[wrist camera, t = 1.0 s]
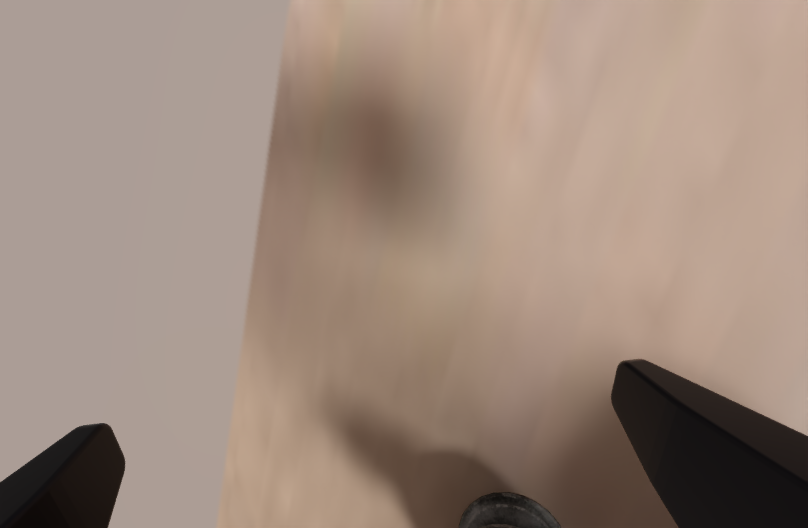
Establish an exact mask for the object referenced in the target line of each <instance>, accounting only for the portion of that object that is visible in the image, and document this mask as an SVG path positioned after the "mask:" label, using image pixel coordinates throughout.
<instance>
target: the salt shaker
mask: <svg viewBox="0 0 808 528" xmlns="http://www.w3.org/2000/svg"><path fill="white" fill-rule="evenodd" d="M459 528H561V527H560V525H559V523H558V522H557V521H556V519H555V518H554V517H553V516H552V515H551V513H550V512H549V511H547V510H546V509H545V508H543V507H542V506H541V505H539V504H538V503H537V502H535V501H533V500H531V499H528V498H526V497H524V496H521V495H517V494H512V493H492V494H489V495H485V496H482V497H480V498H479V499H477V500H476V501H474V502H473V503H471V504H470V506H469V507H468V508H467V509H466V511H465V512H464V514H463V516H462V519H461V521H460V524H459Z"/></svg>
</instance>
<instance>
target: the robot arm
mask: <svg viewBox="0 0 808 528" xmlns="http://www.w3.org/2000/svg"><path fill="white" fill-rule="evenodd" d="M611 400H612V405H613V407H614V410H615V412H616V414H617V416H618V418H619V420H620V422H621V424H622V426H623V428H624V430H625V432H626V434H627V436H628V438H629V440H630V442H631V444H632V446H633V448H634V450H635V452H636V454H637V456H638V458H639V460H640V462H641V464H642V466H643V468H644V470H645V472H646V474H647V475H648V477H649V479H650V481H651V483H652V485H653V486H654V488H655V490H656V491H657V493H658V495H659V496H660V498H661V500H662V501H663V503H664V505H665V506H666V508H667V509H668V511H669V513H670V514H671V516H672V517H673V519H674V521H675V522H676V524H677V525H678V527H679V528H808V436H806V435H804V434H802V433H800V432H798V431H796V430H794V429H791V428H789V427H787V426H785V425H783V424H781V423H779V422H776V421H774V420H772V419H770V418H768V417H766V416H764V415H762V414H759V413H757V412H755V411H753V410H751V409H749V408H747V407H744V406H742V405H740V404H738V403H736V402H734V401H732V400H730V399H727V398H725V397H723V396H721V395H719V394H717V393H715V392H713V391H710V390H708V389H706V388H704V387H702V386H700V385H698V384H695V383H693V382H691V381H689V380H687V379H685V378H683V377H681V376H678V375H676V374H674V373H672V372H670V371H668V370H666V369H663V368H661V367H659V366H657V365H655V364H653V363H651V362H649V361H646V360H644V359H634V360H626V361H622V362H620V364H619V365H618V367H617V371H616V375H615V380H614V384H613V389H612V393H611ZM124 471H125V459H124V455H123V453H122V451H121V448H120V446H119V444H118V442H117V439H116V437H115V435H114V433H113V430H112V428H111V427H110V426H109V425H108V424H105V423H99V424H91V425H83V426H79V427H77V428H75V429H74V430H72V431H71V432H70V433H68V434H67V435H65V436H64V437H63V438H61V439H60V440H59V441H57V442H56V443H54V444H53V445H52V446H50V447H49V448H47V449H46V450H45V451H43V452H42V453H41V454H39V455H38V456H36V457H35V458H33V459H32V460H31V461H29V462H28V463H27V464H25V465H24V466H23V467H21V468H20V469H18V470H17V471H16V472H14V473H13V474H11V475H10V476H8V477H7V478H6V479H4V480H3V481H2V482H0V528H108V525H109V522H110V519H111V515H112V512H113V508H114V505H115V502H116V498H117V495H118V492H119V488H120V485H121V482H122V478H123V475H124Z"/></svg>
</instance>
